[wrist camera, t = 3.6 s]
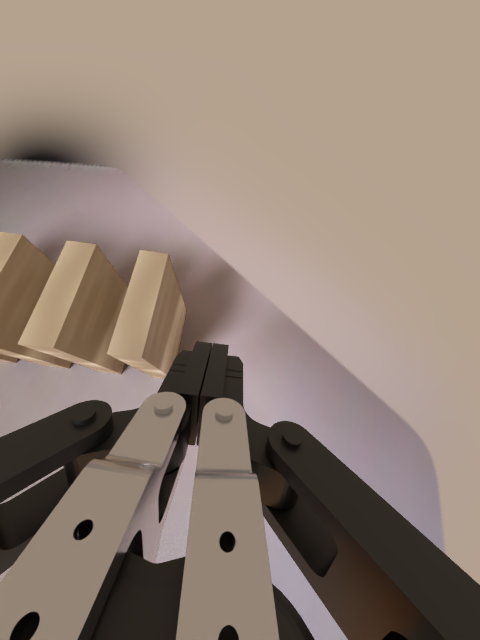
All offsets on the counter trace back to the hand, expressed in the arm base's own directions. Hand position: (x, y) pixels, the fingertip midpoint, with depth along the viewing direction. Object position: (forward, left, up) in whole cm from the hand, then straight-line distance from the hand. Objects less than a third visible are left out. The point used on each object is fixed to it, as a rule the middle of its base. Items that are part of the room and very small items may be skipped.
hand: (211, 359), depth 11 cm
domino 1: (-12, +3, -8) cm, 15 cm away
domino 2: (-8, +3, -8) cm, 12 cm away
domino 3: (-4, +3, -8) cm, 10 cm away
